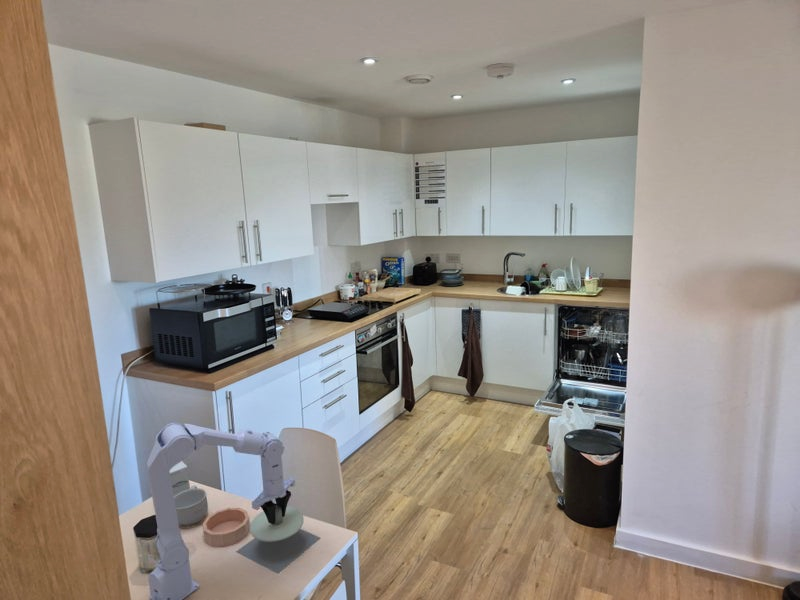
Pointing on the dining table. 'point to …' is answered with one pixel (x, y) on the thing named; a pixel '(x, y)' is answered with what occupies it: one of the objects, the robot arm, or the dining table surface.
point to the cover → (277, 525)
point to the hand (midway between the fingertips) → (276, 519)
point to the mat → (278, 550)
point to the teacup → (191, 506)
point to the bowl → (226, 527)
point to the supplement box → (179, 478)
